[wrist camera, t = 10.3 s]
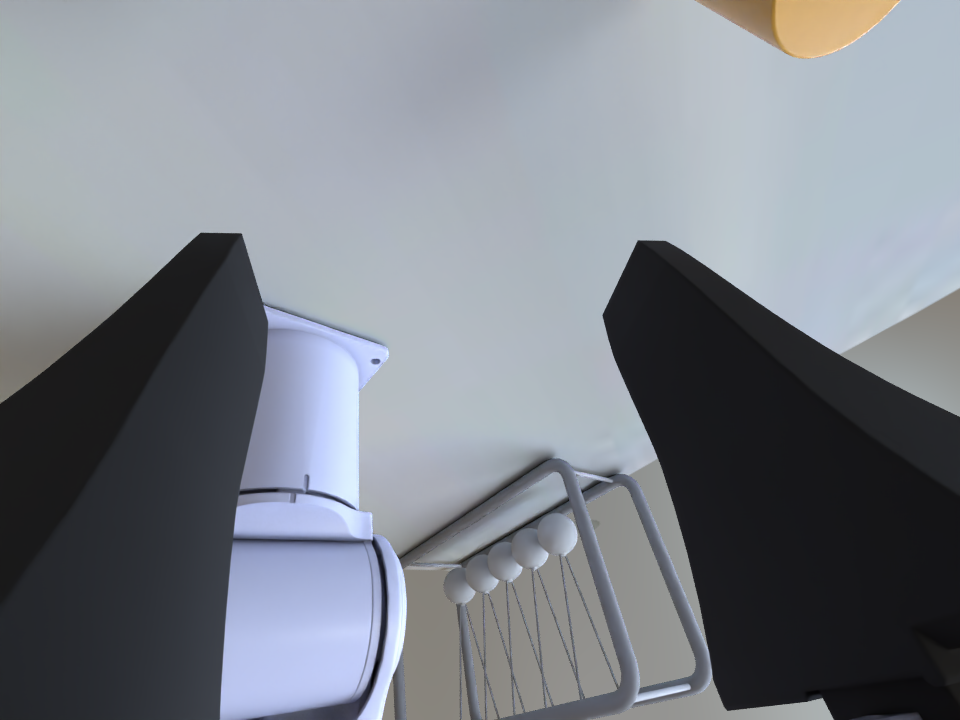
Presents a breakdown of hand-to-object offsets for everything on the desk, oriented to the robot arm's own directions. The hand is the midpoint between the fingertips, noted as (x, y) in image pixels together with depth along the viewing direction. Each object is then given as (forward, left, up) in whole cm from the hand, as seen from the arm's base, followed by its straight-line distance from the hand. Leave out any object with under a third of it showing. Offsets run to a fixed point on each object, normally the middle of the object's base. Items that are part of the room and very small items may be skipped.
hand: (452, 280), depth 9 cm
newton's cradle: (-32, -30, -11) cm, 45 cm away
